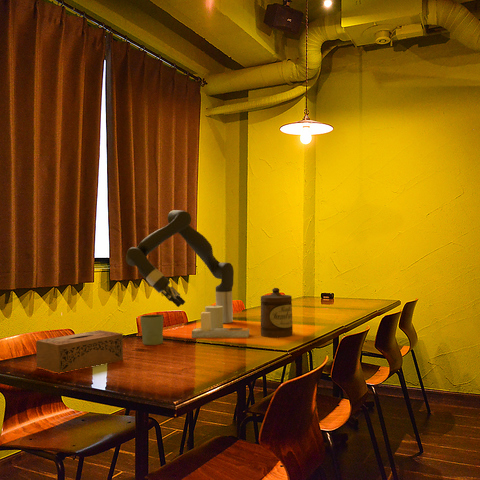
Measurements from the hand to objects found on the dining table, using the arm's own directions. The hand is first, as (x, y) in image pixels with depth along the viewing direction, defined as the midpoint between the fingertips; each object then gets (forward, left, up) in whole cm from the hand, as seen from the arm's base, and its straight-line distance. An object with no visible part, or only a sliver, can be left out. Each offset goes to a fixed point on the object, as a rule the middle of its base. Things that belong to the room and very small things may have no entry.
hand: (182, 304), depth 226 cm
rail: (0, +18, -15) cm, 24 cm away
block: (0, +11, -15) cm, 19 cm away
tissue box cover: (+56, -25, -15) cm, 63 cm away
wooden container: (-3, +44, -15) cm, 47 cm away
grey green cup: (+17, -10, -15) cm, 25 cm away
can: (-19, +12, -15) cm, 27 cm away
